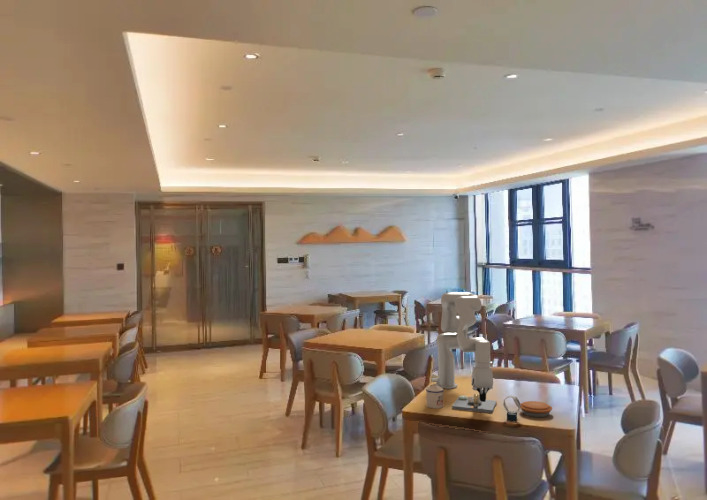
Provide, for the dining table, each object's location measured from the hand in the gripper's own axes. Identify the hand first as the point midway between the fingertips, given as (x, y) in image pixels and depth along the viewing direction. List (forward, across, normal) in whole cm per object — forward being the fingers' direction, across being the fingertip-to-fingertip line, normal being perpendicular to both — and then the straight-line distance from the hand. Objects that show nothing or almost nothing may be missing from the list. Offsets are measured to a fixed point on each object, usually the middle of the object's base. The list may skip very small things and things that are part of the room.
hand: (482, 401), depth 265 cm
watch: (+5, -7, +16) cm, 18 cm away
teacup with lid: (+5, +20, -14) cm, 24 cm away
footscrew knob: (+3, +2, -5) cm, 6 cm away
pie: (+5, -23, +11) cm, 26 cm away
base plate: (+5, +1, -8) cm, 9 cm away
